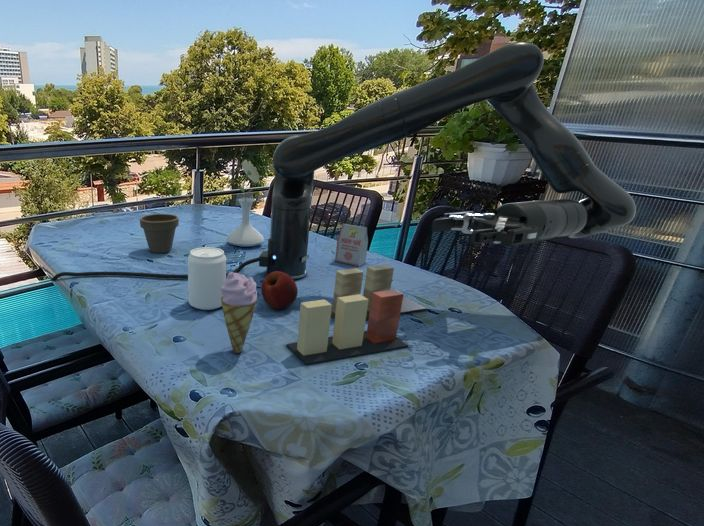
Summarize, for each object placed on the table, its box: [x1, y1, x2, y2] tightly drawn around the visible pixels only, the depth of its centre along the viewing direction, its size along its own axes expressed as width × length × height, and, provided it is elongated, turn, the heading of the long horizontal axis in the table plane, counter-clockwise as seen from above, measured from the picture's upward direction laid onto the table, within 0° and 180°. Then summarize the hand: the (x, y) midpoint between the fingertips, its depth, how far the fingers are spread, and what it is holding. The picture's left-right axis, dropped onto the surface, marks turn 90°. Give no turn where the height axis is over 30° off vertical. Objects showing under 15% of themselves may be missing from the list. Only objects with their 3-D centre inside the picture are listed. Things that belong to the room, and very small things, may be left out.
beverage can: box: [187, 246, 227, 311], centre depth 100 cm, size 8×8×12 cm
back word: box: [331, 264, 428, 320], centre depth 95 cm, size 20×7×9 cm, turn 105°
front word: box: [286, 293, 409, 366], centre depth 81 cm, size 20×7×9 cm, turn 105°
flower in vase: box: [226, 159, 265, 248], centre depth 139 cm, size 13×11×25 cm
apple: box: [260, 271, 298, 310], centre depth 98 cm, size 7×8×8 cm
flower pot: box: [139, 213, 180, 254], centre depth 138 cm, size 12×11×10 cm
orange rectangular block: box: [366, 289, 404, 344], centre depth 83 cm, size 4×2×9 cm, turn 105°
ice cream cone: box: [221, 271, 258, 354], centre depth 80 cm, size 7×6×15 cm
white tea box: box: [334, 223, 369, 267], centre depth 123 cm, size 4×7×10 cm, turn 44°
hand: (452, 231), depth 80 cm, fingers open, 8 cm apart
